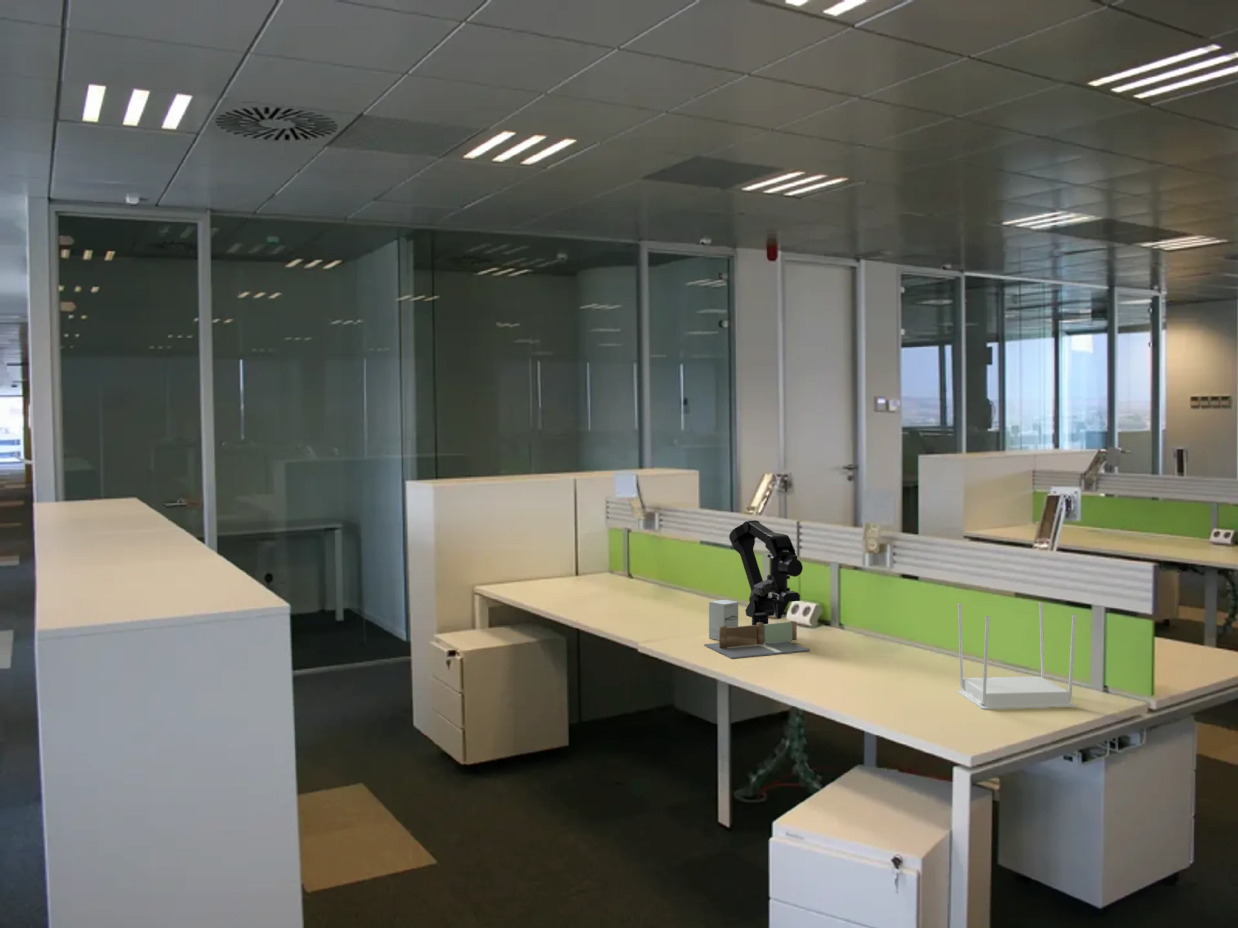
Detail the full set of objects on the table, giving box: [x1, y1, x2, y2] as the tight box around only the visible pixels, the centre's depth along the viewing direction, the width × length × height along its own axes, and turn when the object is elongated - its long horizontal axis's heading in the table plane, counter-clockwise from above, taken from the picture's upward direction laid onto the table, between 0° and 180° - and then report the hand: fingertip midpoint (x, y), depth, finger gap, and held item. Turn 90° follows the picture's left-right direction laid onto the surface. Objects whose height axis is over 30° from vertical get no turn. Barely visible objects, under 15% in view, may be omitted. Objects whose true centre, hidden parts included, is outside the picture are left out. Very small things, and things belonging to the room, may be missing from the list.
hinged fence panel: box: [764, 620, 798, 643], centre depth 341 cm, size 2×12×6 cm, turn 110°
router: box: [957, 601, 1077, 711], centre depth 272 cm, size 19×25×24 cm
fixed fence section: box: [718, 622, 764, 649], centre depth 336 cm, size 2×16×7 cm, turn 110°
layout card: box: [703, 641, 811, 660], centre depth 335 cm, size 20×28×1 cm
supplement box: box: [708, 599, 739, 641], centre depth 350 cm, size 7×7×13 cm
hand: (778, 618), depth 346 cm, fingers closed
